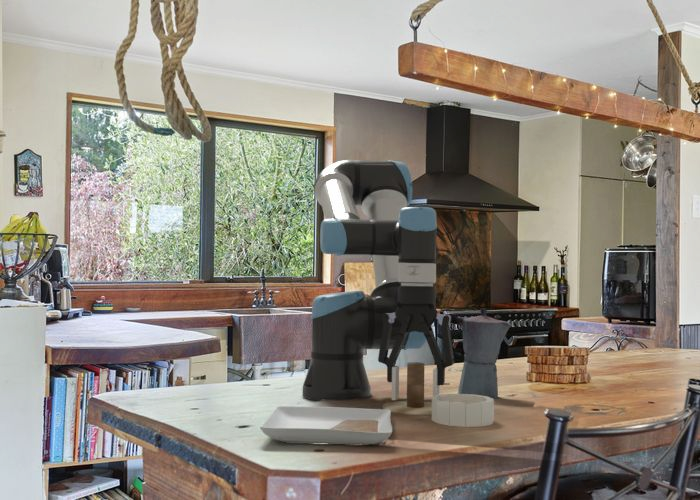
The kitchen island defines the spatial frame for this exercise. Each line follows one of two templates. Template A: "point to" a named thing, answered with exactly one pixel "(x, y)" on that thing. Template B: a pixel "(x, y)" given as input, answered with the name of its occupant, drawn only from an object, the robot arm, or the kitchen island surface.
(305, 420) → the salad plate
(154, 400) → the kitchen island surface
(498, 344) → the moka pot
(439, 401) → the bowl
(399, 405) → the lid
